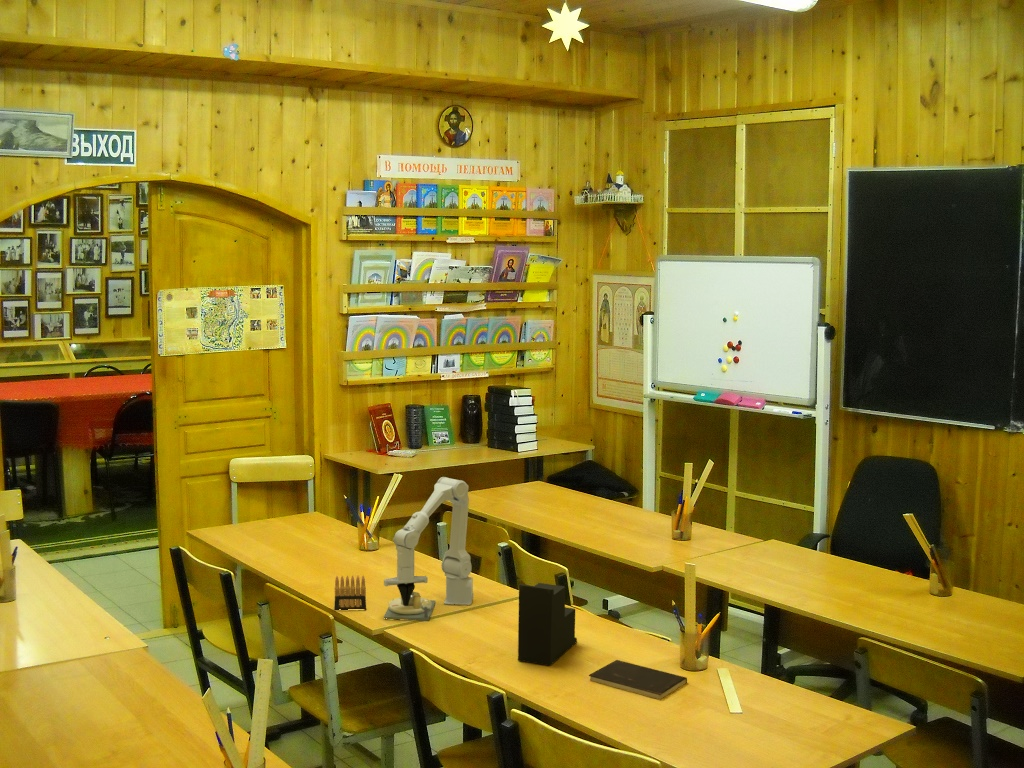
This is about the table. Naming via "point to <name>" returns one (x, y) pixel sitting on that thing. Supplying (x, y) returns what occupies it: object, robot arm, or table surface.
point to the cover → (410, 598)
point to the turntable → (401, 609)
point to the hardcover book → (638, 679)
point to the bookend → (544, 624)
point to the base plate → (417, 617)
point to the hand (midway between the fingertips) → (405, 605)
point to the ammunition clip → (350, 594)
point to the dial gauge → (426, 607)
